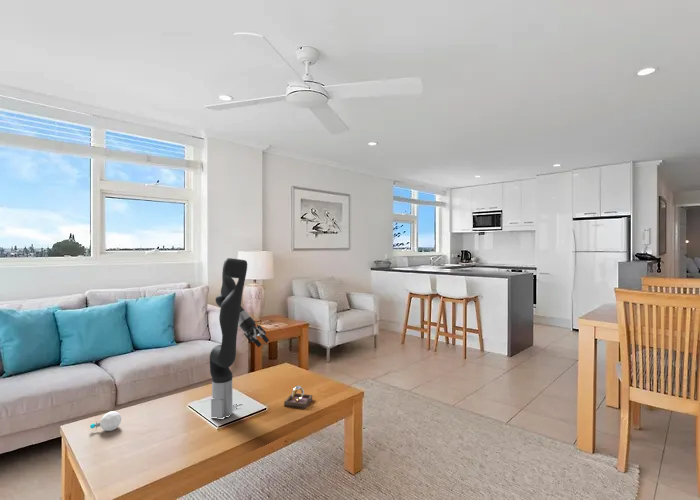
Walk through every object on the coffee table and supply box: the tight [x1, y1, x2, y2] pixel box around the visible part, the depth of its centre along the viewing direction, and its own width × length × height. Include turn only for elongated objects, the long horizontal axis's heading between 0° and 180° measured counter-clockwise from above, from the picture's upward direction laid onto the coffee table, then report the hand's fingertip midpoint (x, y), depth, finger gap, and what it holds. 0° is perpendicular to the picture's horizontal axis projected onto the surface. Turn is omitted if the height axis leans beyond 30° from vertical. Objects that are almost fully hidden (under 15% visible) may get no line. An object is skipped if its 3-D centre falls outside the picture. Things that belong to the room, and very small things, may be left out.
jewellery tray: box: [283, 392, 313, 410], centre depth 193 cm, size 11×11×2 cm
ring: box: [291, 385, 305, 402], centre depth 192 cm, size 7×3×8 cm, turn 132°
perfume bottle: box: [89, 410, 122, 432], centre depth 164 cm, size 8×8×12 cm
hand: (264, 343), depth 199 cm, fingers open, 8 cm apart
